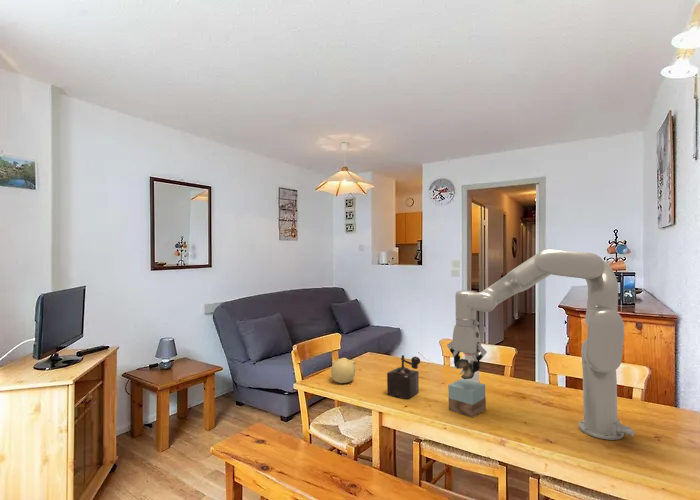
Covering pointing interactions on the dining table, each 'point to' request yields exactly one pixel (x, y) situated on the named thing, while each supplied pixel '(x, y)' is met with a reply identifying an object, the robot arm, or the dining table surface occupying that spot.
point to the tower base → (467, 407)
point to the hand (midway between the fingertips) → (466, 368)
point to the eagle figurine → (465, 368)
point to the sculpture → (343, 370)
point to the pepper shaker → (476, 374)
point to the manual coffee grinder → (404, 380)
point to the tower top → (467, 391)
